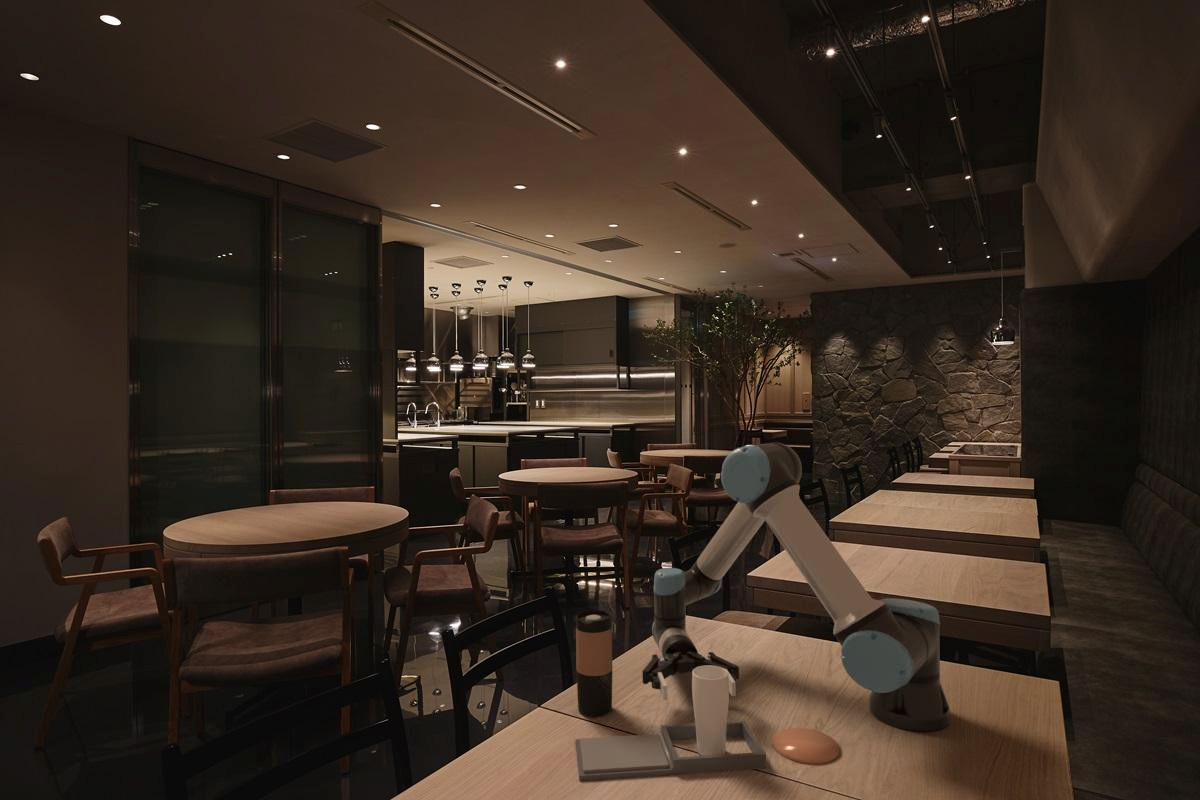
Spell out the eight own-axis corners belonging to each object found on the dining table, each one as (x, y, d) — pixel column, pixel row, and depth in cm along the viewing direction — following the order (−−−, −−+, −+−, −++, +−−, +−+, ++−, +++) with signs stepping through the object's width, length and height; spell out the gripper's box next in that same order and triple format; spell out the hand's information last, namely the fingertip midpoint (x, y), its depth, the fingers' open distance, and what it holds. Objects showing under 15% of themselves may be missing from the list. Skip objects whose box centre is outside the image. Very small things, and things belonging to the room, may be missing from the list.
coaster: (823, 729, 134) (822, 726, 134) (850, 761, 122) (850, 758, 122) (763, 732, 133) (763, 729, 133) (785, 766, 121) (785, 762, 121)
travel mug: (605, 698, 149) (603, 607, 149) (618, 713, 142) (617, 618, 142) (572, 705, 147) (570, 612, 146) (584, 720, 139) (582, 623, 139)
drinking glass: (685, 752, 126) (684, 672, 126) (707, 739, 131) (706, 661, 131) (715, 766, 121) (714, 682, 121) (737, 752, 126) (736, 671, 126)
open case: (744, 733, 133) (744, 720, 133) (766, 768, 121) (766, 754, 121) (575, 743, 130) (575, 730, 130) (579, 780, 118) (579, 766, 118)
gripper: (732, 664, 155) (762, 706, 134) (623, 669, 153) (636, 713, 132) (731, 631, 155) (761, 668, 134) (623, 636, 153) (636, 675, 132)
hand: (699, 691), depth 133 cm, fingers open, 13 cm apart
